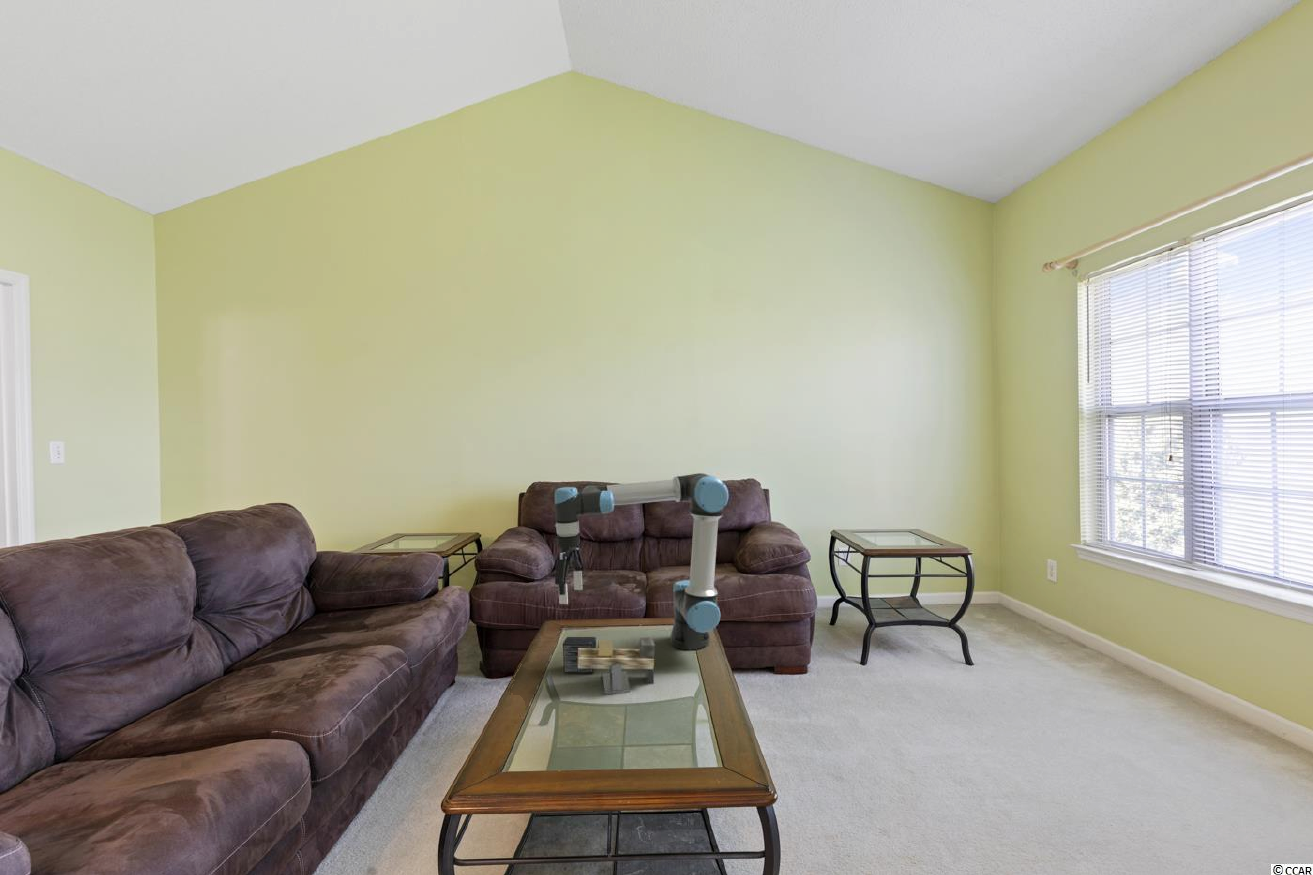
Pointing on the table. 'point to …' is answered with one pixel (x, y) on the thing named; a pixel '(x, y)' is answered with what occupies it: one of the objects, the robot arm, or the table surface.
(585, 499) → the robot arm
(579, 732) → the table surface
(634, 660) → the beam
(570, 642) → the small box
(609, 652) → the block
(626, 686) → the fulcrum
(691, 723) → the table surface
